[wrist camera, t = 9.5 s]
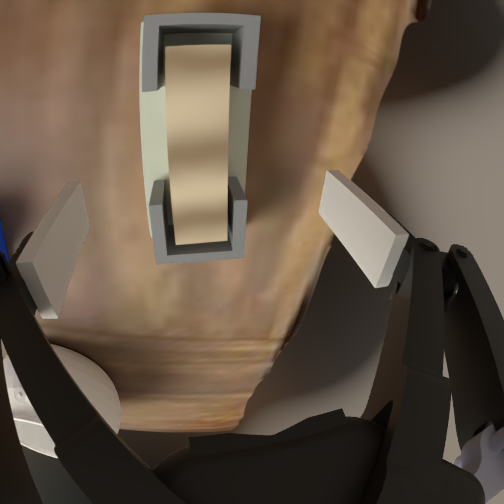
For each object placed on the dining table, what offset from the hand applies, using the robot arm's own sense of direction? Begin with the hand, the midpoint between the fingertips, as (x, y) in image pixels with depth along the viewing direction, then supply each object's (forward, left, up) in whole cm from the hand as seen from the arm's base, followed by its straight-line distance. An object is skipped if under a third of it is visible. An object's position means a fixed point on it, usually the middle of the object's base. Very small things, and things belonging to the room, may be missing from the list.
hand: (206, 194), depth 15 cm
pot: (+43, -30, -18) cm, 56 cm away
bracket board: (0, 0, -17) cm, 17 cm away
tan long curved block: (+1, 0, -16) cm, 16 cm away
